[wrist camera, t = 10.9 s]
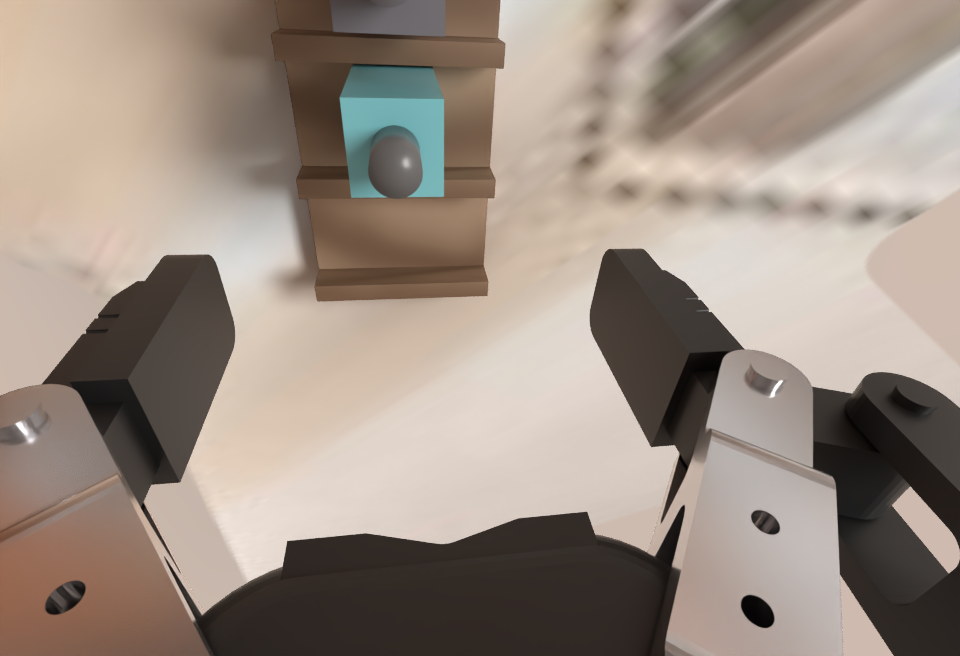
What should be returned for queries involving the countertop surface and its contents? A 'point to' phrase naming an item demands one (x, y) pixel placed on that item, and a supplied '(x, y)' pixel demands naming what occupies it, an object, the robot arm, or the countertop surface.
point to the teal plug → (393, 131)
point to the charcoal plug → (389, 17)
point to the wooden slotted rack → (381, 220)
